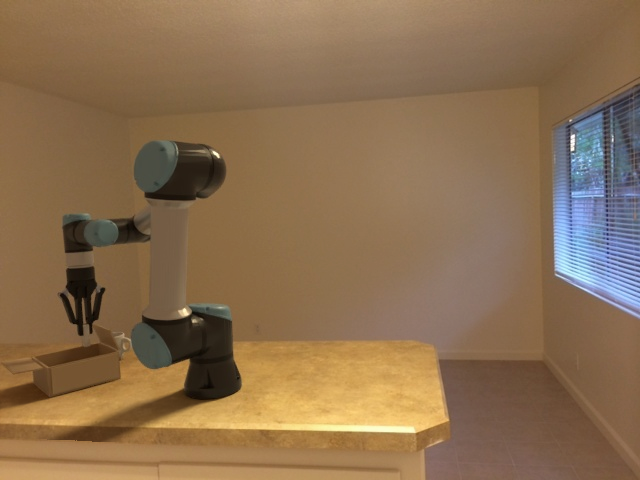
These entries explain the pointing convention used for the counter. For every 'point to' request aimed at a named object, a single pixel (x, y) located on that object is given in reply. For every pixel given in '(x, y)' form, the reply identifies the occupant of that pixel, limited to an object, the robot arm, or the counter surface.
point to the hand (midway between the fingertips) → (86, 345)
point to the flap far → (105, 336)
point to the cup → (120, 343)
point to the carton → (76, 369)
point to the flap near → (21, 365)
